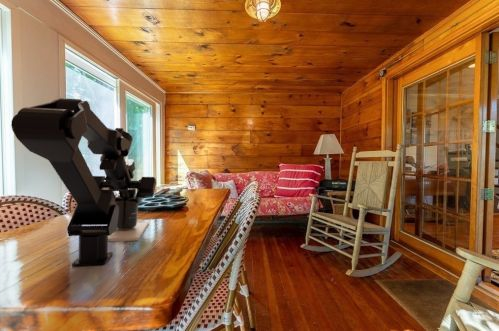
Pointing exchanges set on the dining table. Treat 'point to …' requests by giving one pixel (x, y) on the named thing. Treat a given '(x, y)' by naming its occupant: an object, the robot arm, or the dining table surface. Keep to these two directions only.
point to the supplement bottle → (127, 209)
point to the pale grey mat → (129, 233)
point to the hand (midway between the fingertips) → (127, 202)
